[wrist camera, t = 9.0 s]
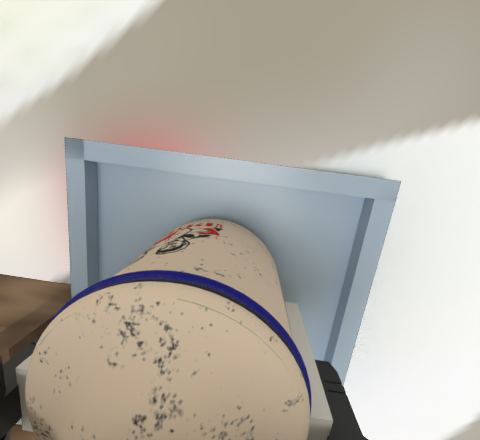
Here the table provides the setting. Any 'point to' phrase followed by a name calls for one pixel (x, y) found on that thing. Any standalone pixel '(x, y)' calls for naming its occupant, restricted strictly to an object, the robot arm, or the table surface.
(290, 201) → the tray
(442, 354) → the table surface
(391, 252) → the table surface
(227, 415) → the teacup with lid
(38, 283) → the walnut rack
